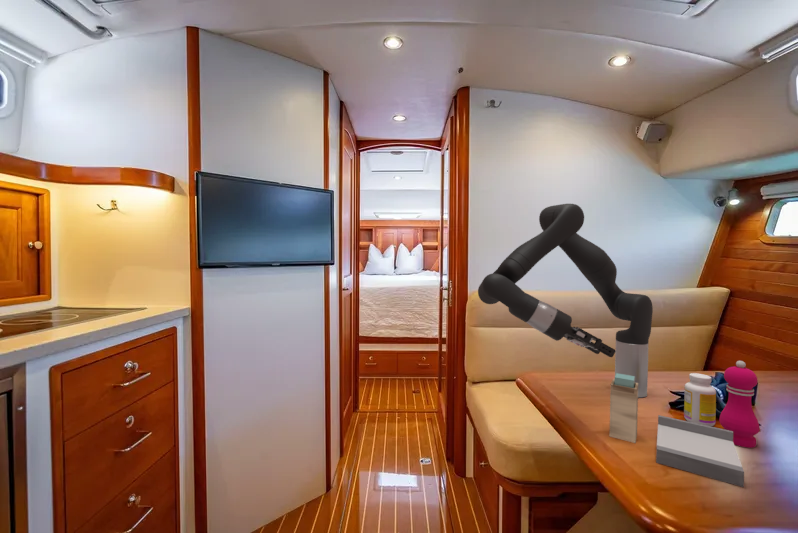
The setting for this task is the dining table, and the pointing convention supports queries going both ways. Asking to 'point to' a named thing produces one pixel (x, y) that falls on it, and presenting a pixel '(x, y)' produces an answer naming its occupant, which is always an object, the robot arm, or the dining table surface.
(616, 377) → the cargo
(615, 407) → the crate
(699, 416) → the supplement bottle
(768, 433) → the dining table surface
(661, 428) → the dock
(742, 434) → the pepper mill
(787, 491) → the dining table surface
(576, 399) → the dining table surface
